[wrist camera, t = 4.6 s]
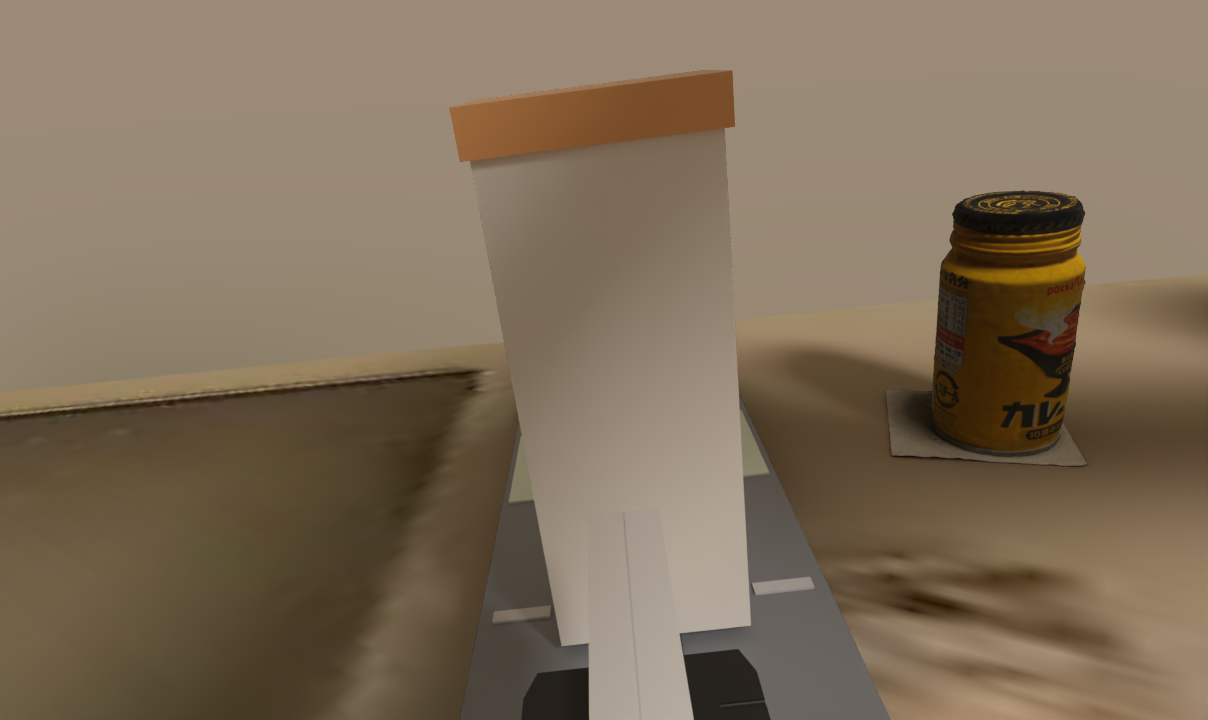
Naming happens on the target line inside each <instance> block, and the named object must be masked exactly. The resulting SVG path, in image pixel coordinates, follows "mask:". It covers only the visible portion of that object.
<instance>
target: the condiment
mask: <svg viewBox="0 0 1208 720" xmlns="http://www.w3.org/2000/svg"><path fill="white" fill-rule="evenodd" d="M952 215H953V219H954V222H953V223H954V225H953V228H954V230H953V232H952V234H951V236H950V243H951V245H952V249H951V250H950V251H949V253H948V254H947V256H946V257H945V259H944V260H943V261H942V264H941V270H940V284H939V300H938V316H937V332H936V346H935V355H934V378H933V391H929V392H924V391H912V390H906V389H899V390H895V389H886V401H887V413H888V422H889V432H890V443H891V451H892V455H898V456H905V455H910V456H919V457H932V456H936V457H942V458H963V459H974V460H982V461H991V462H1008V463H1023V464H1025V463H1029V464H1039V465H1048V464H1055V465H1060V466H1063V465H1065V466H1080V465H1085V464H1087V463H1086V461H1085V459H1084V458H1083V456H1082V454H1081V452H1080V451H1079V449H1078V447H1077V446H1076V445H1075V443H1074V441H1073V439H1072V437H1071V435H1070V434H1069V432H1068V430H1067V428H1066V426H1065V424H1064V423H1063V418H1064V411H1065V404H1066V398H1067V395H1068V390H1069V383H1070V373H1071V367H1072V361H1073V354H1074V348H1075V346H1076V341H1075V340H1076V330H1077V325H1078V317H1079V309H1080V304H1081V296H1082V291H1083V289H1084V285H1085V280H1084V275H1085V269H1086V267H1085V263H1084V260H1083V259H1082V258H1081V256H1080V255H1079V254H1078V253H1077V248H1078V247H1079V246H1080V244H1081V235H1080V232H1081V225H1082V222H1083V218H1084V215H1085V211H1084V210H1083V206H1082V203H1081V202H1080V201H1079V200H1078V199H1076V198H1075V196H1069V195H1066V194H1061V193H1054V192H1040V191H1012V192H994V193H987V194H981V195H977V196H973V197H970V198H966V199H964V200H963V201H961V202H960V203H958V204H957V205H956V206H955V210H954V212H953V214H952ZM928 436H929V437H932V438H934V439H929V438H928ZM936 440H940V441H941V442H938V441H936ZM1087 465H1088V464H1087Z"/></svg>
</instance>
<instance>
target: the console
mask: <svg viewBox="0 0 1208 720" xmlns="http://www.w3.org/2000/svg"><path fill="white" fill-rule="evenodd" d="M739 407H740V426H741V445H742V464H743V483H744V502H745V521H746V540H747V559H748V577H749V596H750V615H751V626H743V627H734V628H725V629H716V630H706V631H697V632H688V633H679V634H680V640H681V646H682V652H683V655H688V654H697V653H706V652H715V651H724V650H732V649H739V650H740V652H741V653H742V654H743V655H744V656H745V658H746V659H747V660H748V661H749V662H750V663H751V665H752V666H753V667H754V668H755V669H756V671H757V673H758V677H759V680H760V684H761V687H762V691H763V694H764V698H765V703H766V705H767V708H768V712H769V715H770V719H771V720H891V719H890V717H889V715H888V713H887V711H886V709H885V706H884V704H883V702H882V700H881V698H880V696H879V694H878V691H877V689H876V687H875V685H874V683H873V681H872V678H871V676H870V674H869V672H868V670H867V668H866V666H865V663H864V661H863V659H862V657H861V655H860V653H859V650H858V648H857V646H856V644H855V642H854V640H853V638H852V635H851V633H850V631H849V629H848V627H847V625H846V622H845V620H844V618H843V616H842V614H841V612H840V610H839V607H838V605H837V603H836V601H835V599H834V597H833V594H832V592H831V590H830V588H829V586H828V584H827V582H826V579H825V577H824V575H823V573H822V571H821V569H820V566H819V564H818V562H817V560H816V558H815V556H814V554H813V551H812V549H811V547H810V545H809V543H808V541H807V538H806V536H805V534H804V532H803V530H802V528H801V526H800V523H799V521H798V519H797V517H796V515H795V513H794V510H793V508H792V506H791V504H790V502H789V500H788V498H787V495H786V493H785V491H784V489H783V487H782V485H781V482H780V480H779V478H778V476H777V474H776V472H775V470H774V467H773V465H772V463H771V461H770V459H769V457H768V454H767V452H766V450H765V448H764V446H763V444H762V442H761V439H760V437H759V435H758V433H757V431H756V429H755V426H754V424H753V422H752V420H751V418H750V416H749V414H748V411H747V409H746V407H745V405H744V403H743V401H742V398H741V396H740V394H739ZM587 667H589V643H587V644H578V645H569V646H561V641H560V635H559V630H558V625H557V619H556V614H555V609H554V604H553V598H552V593H551V588H550V582H549V577H548V572H547V566H546V561H545V556H544V551H543V545H542V540H541V535H540V529H539V524H538V519H537V513H536V508H535V503H534V498H533V492H532V487H531V482H530V476H529V471H528V466H527V460H526V455H525V450H524V445H523V439H522V434H521V429H520V423H519V422H518V427H517V433H516V438H515V443H514V448H513V453H512V458H511V463H510V468H509V473H508V478H507V483H506V488H505V493H504V498H503V503H502V508H501V513H500V518H499V523H498V529H497V534H496V539H495V544H494V549H493V554H492V559H491V564H490V569H489V574H488V579H487V584H486V589H485V594H484V599H483V604H482V609H481V614H480V620H479V625H478V630H477V635H476V640H475V645H474V650H473V655H472V660H471V665H470V670H469V675H468V680H467V685H466V690H465V695H464V700H463V705H462V710H461V716H460V720H521V717H522V707H523V699H524V697H525V695H526V693H527V691H528V689H529V688H530V686H531V684H532V682H533V680H534V678H535V677H536V675H537V673H542V672H551V671H560V670H569V669H578V668H587Z"/></svg>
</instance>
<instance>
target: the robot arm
mask: <svg viewBox="0 0 1208 720" xmlns="http://www.w3.org/2000/svg"><path fill="white" fill-rule="evenodd" d="M588 602H589V667H587V668H578V669H569V670H560V671H551V672H542V673H537V675H536V677H535V678H534V680H533V682H532V684H531V686H530V688H529V689H528V691H527V693H526V695H525V697H524V699H523V707H522V717H521V720H771V719H770V715H769V712H768V708H767V705H766V703H765V698H764V694H763V691H762V687H761V684H760V680H759V677H758V673H757V671H756V669H755V668H754V667H753V666H752V665H751V663H750V662H749V661H748V660H747V659H746V658H745V656H744V655H743V654H742V653H741V652H740V650H739V649H732V650H724V651H715V652H706V653H697V654H688V655H683V652H682V646H681V640H680V634H679V627H678V621H677V615H676V609H675V603H674V597H673V591H672V585H671V579H670V573H669V567H668V561H667V555H666V549H665V543H664V537H663V531H662V525H661V519H660V513H659V508H652V509H644V510H635V511H626V512H618V513H609V514H601V515H592V516H588Z"/></svg>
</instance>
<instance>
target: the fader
mask: <svg viewBox="0 0 1208 720" xmlns="http://www.w3.org/2000/svg"><path fill="white" fill-rule="evenodd" d="M732 76H733V75H732V71H720V70H701V71H693V72H686V73H678V74H670V75H663V76H655V77H647V78H640V79H632V80H624V81H617V82H609V83H602V84H594V85H586V86H579V87H572V88H563V89H556V90H548V91H541V92H533V93H525V94H518V95H510V96H502V97H495V98H487V99H480V100H475V101H471V102H468V103H464V104H461V105H457V106H453V107H450V113H451V118H452V123H453V129H454V134H455V139H456V144H457V150H458V155H459V159H460V162H464V161H470V164H471V169H472V174H473V179H474V185H475V190H476V196H477V201H478V206H479V211H480V217H481V222H482V227H483V233H484V237H485V243H486V248H487V254H488V259H489V264H490V270H491V275H492V280H493V285H494V291H495V296H496V301H497V307H498V312H499V317H500V323H501V328H502V333H503V339H504V344H505V349H506V355H507V360H508V365H509V370H510V376H511V381H512V386H513V392H514V397H515V402H516V408H517V413H518V418H519V423H520V429H521V434H522V439H523V445H524V450H525V455H526V460H527V466H528V471H529V476H530V482H531V487H532V492H533V498H534V503H535V508H536V513H537V519H538V524H539V529H540V535H541V540H542V545H543V551H544V556H545V561H546V566H547V572H548V577H549V582H550V588H551V593H552V598H553V604H554V609H555V614H556V619H557V625H558V630H559V635H560V641H561V646H569V645H578V644H587V643H589V602H588V516H592V515H601V514H609V513H618V512H626V511H635V510H644V509H652V508H659V513H660V519H661V525H662V531H663V537H664V543H665V549H666V555H667V561H668V567H669V573H670V579H671V585H672V591H673V597H674V603H675V609H676V615H677V621H678V627H679V633H688V632H697V631H706V630H716V629H725V628H734V627H743V626H751V615H750V596H749V577H748V559H747V540H746V521H745V502H744V483H743V464H742V445H741V426H740V407H739V388H738V369H737V350H736V332H735V313H734V294H733V275H732V257H731V237H730V219H729V199H728V180H727V161H726V142H725V128H729V127H735V118H734V96H733V77H732Z"/></svg>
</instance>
